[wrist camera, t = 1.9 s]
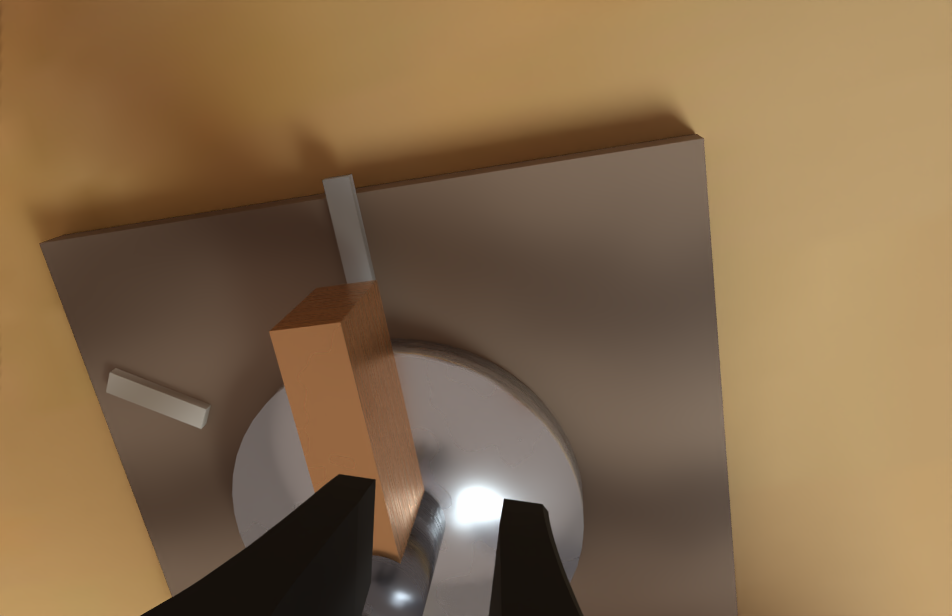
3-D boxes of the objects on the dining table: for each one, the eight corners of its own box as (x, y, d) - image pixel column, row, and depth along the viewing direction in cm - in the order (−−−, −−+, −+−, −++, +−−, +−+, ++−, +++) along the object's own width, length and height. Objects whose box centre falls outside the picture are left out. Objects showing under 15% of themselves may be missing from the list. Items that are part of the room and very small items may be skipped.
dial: (602, 622, 22) (610, 754, 18) (296, 636, 23) (238, 759, 19) (546, 244, 18) (540, 300, 14) (188, 293, 20) (87, 356, 16)
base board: (737, 688, 23) (747, 723, 22) (233, 703, 26) (217, 734, 25) (695, 113, 18) (704, 117, 16) (57, 218, 21) (24, 228, 19)
